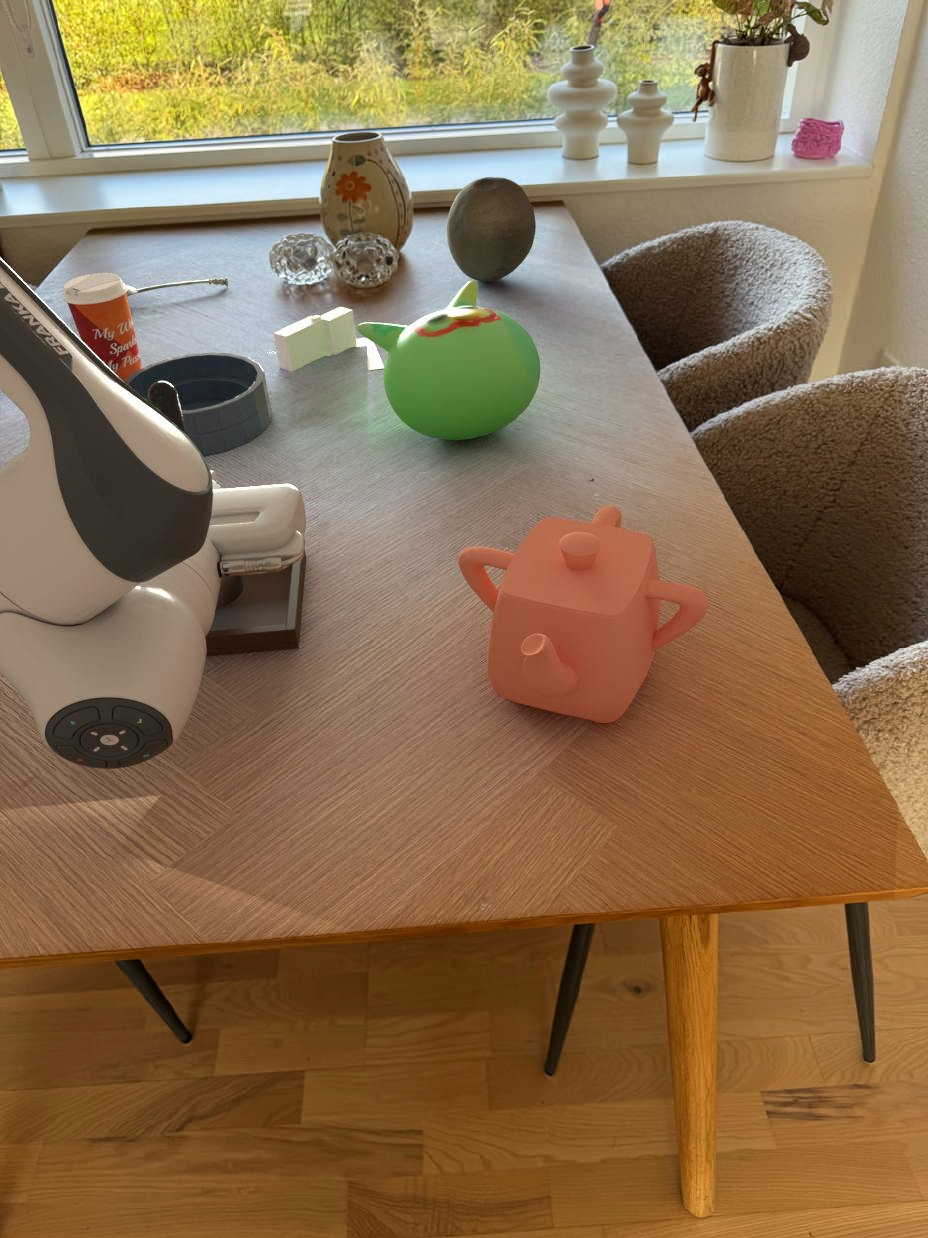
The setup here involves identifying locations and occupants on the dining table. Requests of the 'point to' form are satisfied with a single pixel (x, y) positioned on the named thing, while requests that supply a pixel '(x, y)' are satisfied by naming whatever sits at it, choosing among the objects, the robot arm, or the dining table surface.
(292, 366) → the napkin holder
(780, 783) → the dining table surface
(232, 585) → the ladle
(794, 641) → the dining table surface
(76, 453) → the robot arm
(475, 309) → the green cartoon toy
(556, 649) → the teapot
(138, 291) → the soupspoon
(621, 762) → the dining table surface
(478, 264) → the grey stone egg
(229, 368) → the bowl
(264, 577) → the tray
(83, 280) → the paper cup
